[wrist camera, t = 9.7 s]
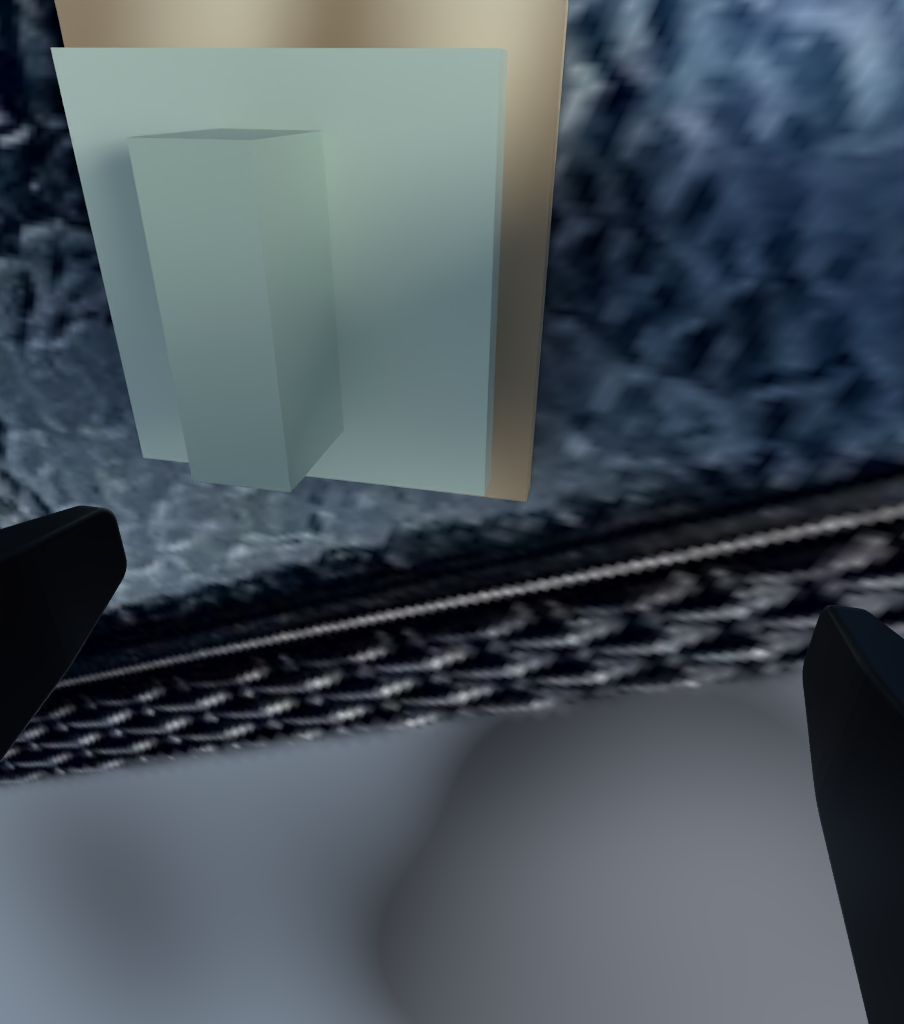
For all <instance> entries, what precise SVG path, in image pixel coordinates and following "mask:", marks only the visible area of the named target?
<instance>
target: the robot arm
mask: <svg viewBox="0 0 904 1024" xmlns="http://www.w3.org/2000/svg"><path fill="white" fill-rule="evenodd" d="M126 567H127V560H126V555H125V551H124V547H123V543H122V539H121V535H120V532H119V528H118V524H117V520H116V517H115V516H114V514H113V513H112V512H111V511H110V510H108V509H106V508H99V507H91V506H84V505H83V506H76V507H72V508H69V509H66V510H63V511H59V512H56V513H53V514H49V515H46V516H43V517H39V518H36V519H33V520H29V521H26V522H23V523H19V524H16V525H13V526H9V527H6V528H3V529H0V761H1V760H2V758H3V757H4V756H5V754H6V753H7V752H8V750H9V749H10V748H11V746H12V745H13V744H14V742H15V741H16V740H17V738H18V737H19V736H20V734H21V733H22V732H23V730H24V729H25V727H26V726H27V725H28V723H29V722H30V721H31V719H32V718H33V717H34V715H35V714H36V713H37V711H38V710H39V709H40V707H41V706H42V705H43V703H44V702H45V701H46V699H47V698H48V696H49V695H50V694H51V692H52V691H53V690H54V688H55V687H56V686H57V684H58V683H59V682H60V680H61V679H62V677H63V676H64V675H65V673H66V672H67V670H68V669H69V667H70V666H71V664H72V663H73V661H74V660H75V658H76V656H77V655H78V653H79V652H80V650H81V648H82V647H83V645H84V643H85V642H86V640H87V638H88V637H89V635H90V633H91V632H92V630H93V628H94V626H95V625H96V623H97V621H98V620H99V618H100V616H101V615H102V613H103V611H104V610H105V608H106V606H107V605H108V603H109V601H110V600H111V598H112V596H113V595H114V593H115V591H116V590H117V588H118V586H119V585H120V583H121V581H122V580H123V578H124V575H125V572H126ZM803 688H804V698H805V707H806V716H807V725H808V735H809V743H810V753H811V763H812V772H813V781H814V789H815V796H816V801H817V807H818V812H819V816H820V821H821V825H822V830H823V833H824V838H825V842H826V846H827V851H828V854H829V859H830V863H831V868H832V872H833V876H834V880H835V884H836V889H837V893H838V897H839V901H840V906H841V910H842V914H843V918H844V922H845V926H846V931H847V935H848V939H849V943H850V948H851V952H852V956H853V960H854V964H855V969H856V973H857V977H858V981H859V985H860V990H861V994H862V998H863V1002H864V1006H865V1011H866V1015H867V1019H868V1024H904V639H903V638H902V637H901V636H899V635H898V634H897V633H895V632H894V631H893V630H891V629H890V628H889V627H888V626H886V625H885V624H884V623H882V622H881V621H880V620H879V619H877V618H876V617H875V616H873V615H872V614H871V613H869V612H868V611H866V610H864V609H860V608H852V607H844V606H836V605H829V606H827V607H825V608H824V609H823V610H822V612H821V613H820V616H819V619H818V621H817V624H816V627H815V630H814V633H813V636H812V639H811V642H810V645H809V648H808V651H807V654H806V657H805V660H804V665H803Z"/></svg>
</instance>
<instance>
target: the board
mask: <svg viewBox="0 0 904 1024" xmlns="http://www.w3.org/2000/svg"><path fill="white" fill-rule="evenodd" d="M55 4H56V9H57V14H58V18H59V23H60V28H61V32H62V37H63V42H64V46H65V48H501V49H505V50H508V65H507V89H506V113H505V138H504V162H503V187H502V211H501V236H500V260H499V284H498V309H497V333H496V358H495V382H494V407H493V431H492V455H491V479H490V482H489V485H488V487H487V490H486V493H485V495H484V496H481V497H490V498H498V499H507V500H515V501H523V502H526V501H527V498H528V494H529V490H530V480H531V467H532V454H533V442H534V429H535V416H536V404H537V391H538V379H539V366H540V353H541V341H542V328H543V316H544V303H545V290H546V278H547V265H548V252H549V240H550V227H551V215H552V202H553V189H554V177H555V164H556V151H557V139H558V126H559V114H560V101H561V88H562V76H563V63H564V50H565V38H566V25H567V13H568V0H55ZM397 487H398V486H397ZM406 488H407V487H406ZM414 489H416V488H414ZM422 490H425V489H422ZM431 491H433V490H431ZM439 492H442V491H439ZM448 493H451V492H448ZM456 494H460V493H456ZM464 495H469V494H464ZM473 496H478V495H473Z"/></svg>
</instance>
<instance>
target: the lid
mask: <svg viewBox="0 0 904 1024" xmlns="http://www.w3.org/2000/svg"><path fill="white" fill-rule="evenodd" d="M51 52H52V56H53V61H54V65H55V70H56V74H57V78H58V83H59V87H60V92H61V96H62V100H63V105H64V109H65V114H66V118H67V123H68V127H69V131H70V136H71V140H72V145H73V149H74V154H75V158H76V162H77V167H78V171H79V176H80V180H81V185H82V189H83V193H84V198H85V202H86V207H87V211H88V216H89V220H90V224H91V229H92V233H93V238H94V242H95V247H96V251H97V255H98V260H99V264H100V269H101V273H102V277H103V282H104V286H105V291H106V295H107V300H108V304H109V308H110V313H111V317H112V322H113V326H114V331H115V335H116V339H117V344H118V348H119V353H120V357H121V362H122V366H123V370H124V375H125V379H126V384H127V388H128V393H129V397H130V401H131V406H132V410H133V415H134V419H135V424H136V428H137V432H138V437H139V441H140V446H141V450H142V454H143V458H150V459H159V460H168V461H177V462H186V463H189V466H190V471H191V477H192V481H197V482H206V483H214V484H223V485H231V486H240V487H248V488H257V489H265V490H273V491H282V492H290V493H291V492H292V490H293V489H294V488H295V487H296V486H297V485H298V483H299V482H300V481H301V480H302V479H303V478H304V476H310V477H318V478H327V479H336V480H345V481H354V482H363V483H371V484H380V485H389V486H398V487H407V488H416V489H425V490H433V491H442V492H451V493H460V494H469V495H478V496H484V495H485V493H486V490H487V487H488V485H489V482H490V479H491V455H492V431H493V407H494V382H495V358H496V333H497V309H498V284H499V260H500V236H501V211H502V187H503V162H504V138H505V113H506V89H507V65H508V50H505V49H501V48H51Z"/></svg>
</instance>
